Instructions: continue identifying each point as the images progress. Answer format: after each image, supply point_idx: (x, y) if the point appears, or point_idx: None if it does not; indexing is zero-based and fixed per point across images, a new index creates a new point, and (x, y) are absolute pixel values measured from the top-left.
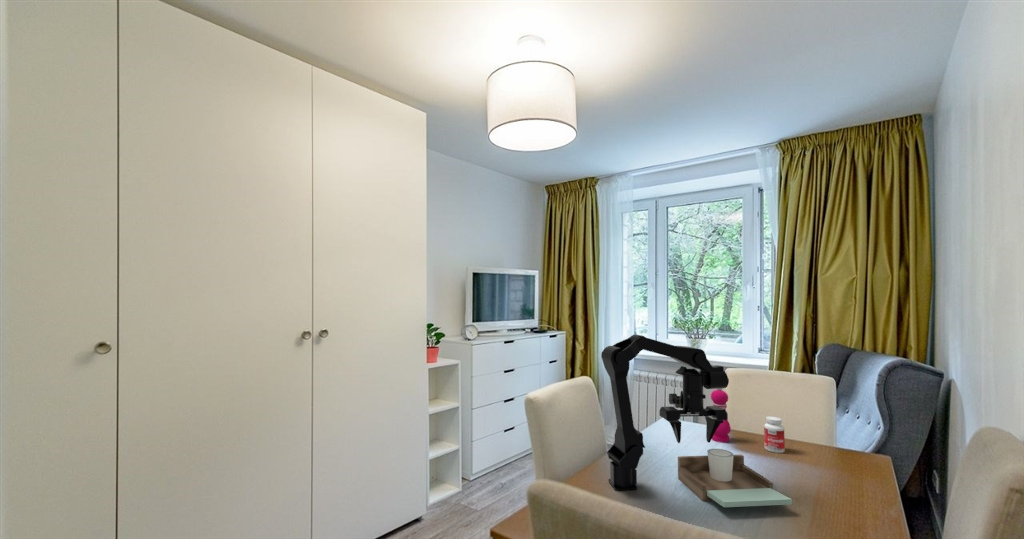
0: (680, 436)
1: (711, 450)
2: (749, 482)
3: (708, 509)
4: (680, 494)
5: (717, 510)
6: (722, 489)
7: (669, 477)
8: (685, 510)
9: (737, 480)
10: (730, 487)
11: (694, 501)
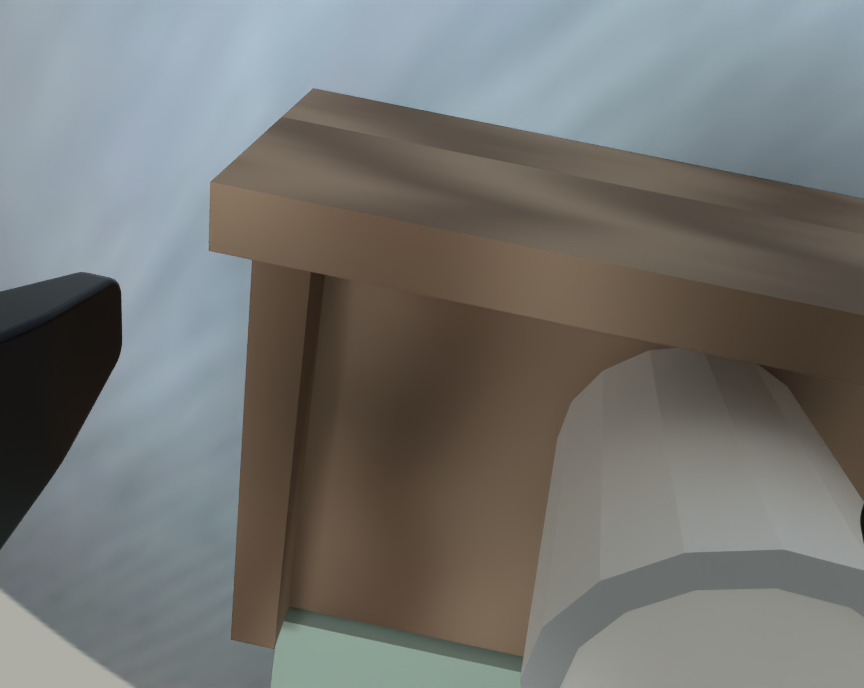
0: (3, 531)
1: (688, 596)
2: None
3: None
4: (147, 399)
5: None
6: (456, 626)
7: (226, 12)
8: (69, 585)
9: None
10: None
11: (205, 519)
